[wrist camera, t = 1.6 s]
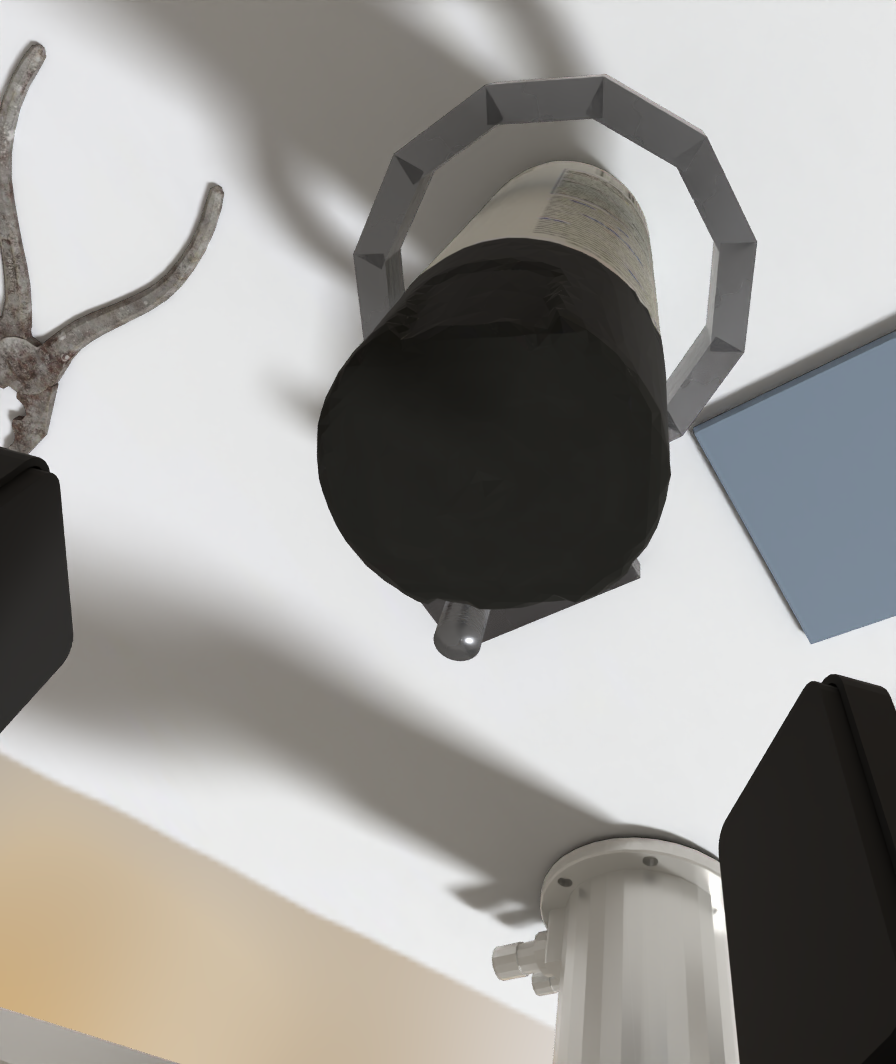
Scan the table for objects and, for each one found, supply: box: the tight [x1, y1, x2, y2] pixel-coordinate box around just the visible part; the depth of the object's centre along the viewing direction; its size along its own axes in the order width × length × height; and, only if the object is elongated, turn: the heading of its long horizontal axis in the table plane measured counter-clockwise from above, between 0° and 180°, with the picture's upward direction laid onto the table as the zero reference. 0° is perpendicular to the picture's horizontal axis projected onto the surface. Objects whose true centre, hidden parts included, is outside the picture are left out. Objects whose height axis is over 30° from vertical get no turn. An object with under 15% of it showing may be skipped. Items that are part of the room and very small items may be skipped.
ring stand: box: [353, 74, 757, 661], centre depth 31 cm, size 20×20×9 cm
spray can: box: [317, 161, 671, 610], centre depth 23 cm, size 7×7×20 cm
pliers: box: [0, 45, 224, 454], centre depth 37 cm, size 10×1×20 cm
